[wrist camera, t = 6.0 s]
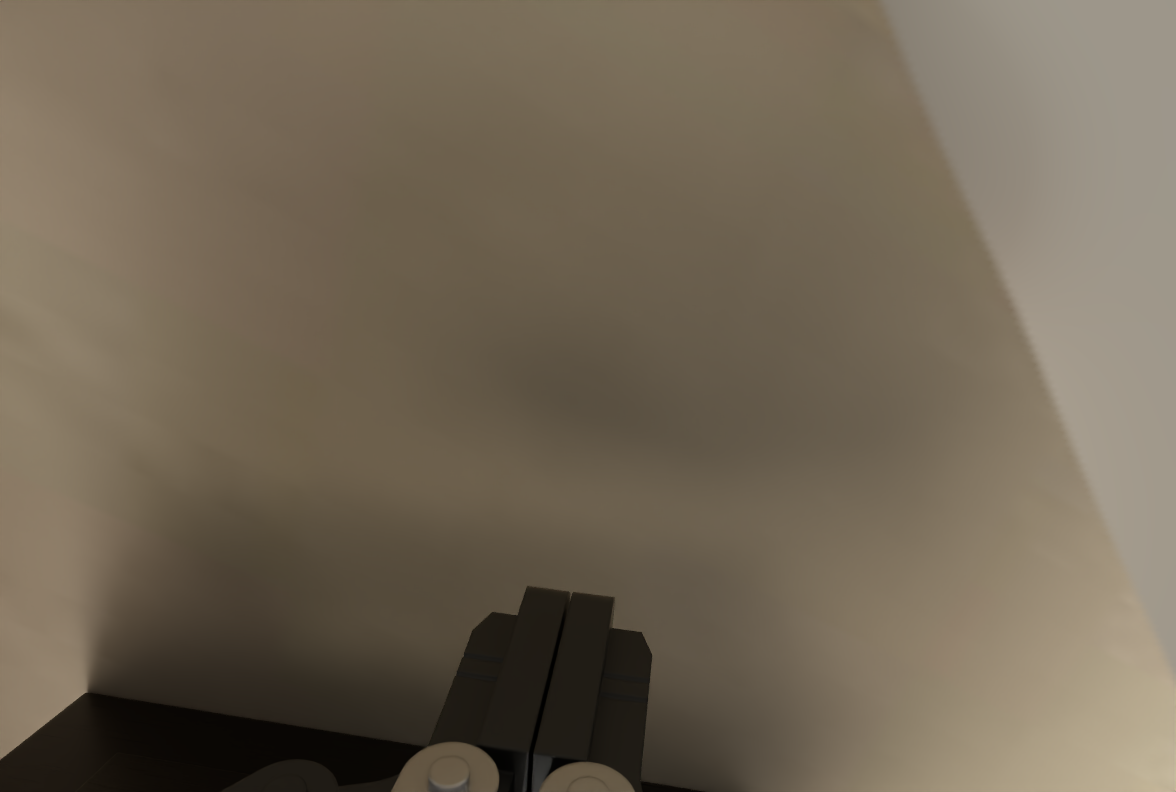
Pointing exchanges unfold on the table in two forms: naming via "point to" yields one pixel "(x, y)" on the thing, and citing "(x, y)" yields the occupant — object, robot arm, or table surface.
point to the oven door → (185, 751)
